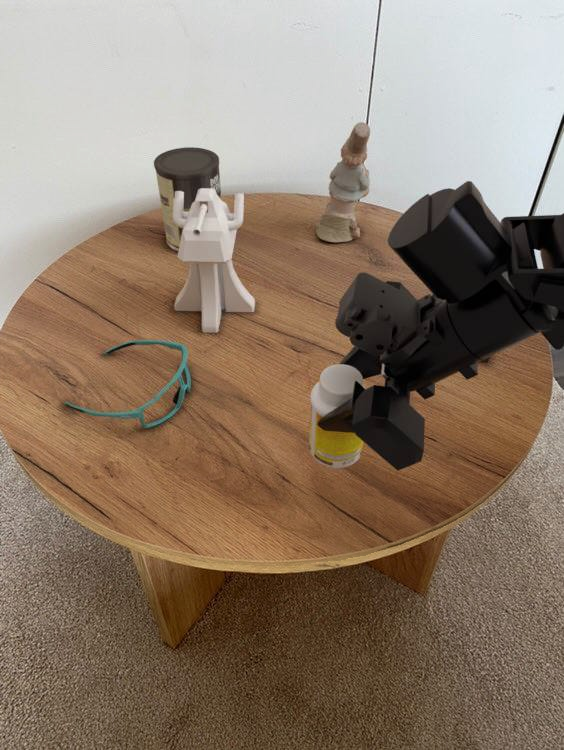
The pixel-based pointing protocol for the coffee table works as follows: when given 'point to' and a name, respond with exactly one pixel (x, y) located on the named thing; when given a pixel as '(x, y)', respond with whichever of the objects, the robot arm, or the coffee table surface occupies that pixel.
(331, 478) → the coffee table surface
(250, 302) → the toy gun turret
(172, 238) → the coffee can
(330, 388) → the supplement bottle
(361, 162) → the figurine
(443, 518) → the coffee table surface
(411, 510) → the coffee table surface
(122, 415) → the sunglasses
